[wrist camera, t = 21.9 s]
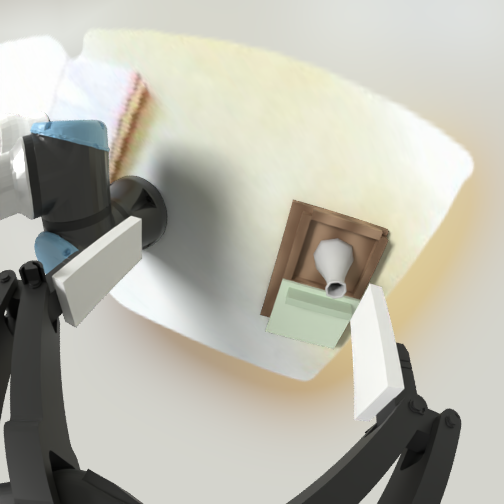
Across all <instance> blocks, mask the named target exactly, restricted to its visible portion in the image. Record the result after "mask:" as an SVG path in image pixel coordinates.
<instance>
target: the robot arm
mask: <svg viewBox="0 0 504 504" xmlns="http://www.w3.org/2000/svg"><path fill="white" fill-rule="evenodd" d="M30 132H31V134H29V135H26V136H22V137H19V139H18V140H17V142H16V143H15V145H14V146H13V148H12V149H11V150H10V151H9V152H6V153H3V154H0V220H2V219H4V218H7V217H9V216H12V215H15V214H17V213H20V214H23V215H24V216H26V217H28V218H29V219H35V218H38V217H42V222H43V227H44V232H41V233H40V234H39V235H38V237H37V238H36V241H35V253H36V256H37V259H38V261H29V262H27V263H25V264H23V265H22V266H21V267H20V269H19V273H20V276H21V279H22V280H17V277H16V274H15V272H14V271H12V270H5V271H2V272H1V273H0V419H1V414H2V408H3V402H4V399H5V394H6V390H7V386H8V382H9V378H10V374H11V381H10V411H11V412H10V413H11V417H10V421H7V422H5V425H4V442H5V450H6V459H7V465H8V472H9V478H10V482H7V483H1V484H0V504H143V503H142V502H140V501H139V500H137V499H136V498H135V497H134V496H132V495H131V494H130V493H128V492H127V491H125V490H123V489H121V488H120V487H119V486H117V485H116V484H114V483H112V482H110V481H109V480H107V479H105V478H103V477H101V476H100V475H98V474H96V473H94V472H93V471H91V470H89V469H88V470H87V471H83V470H80V467H79V464H78V460H77V458H76V455H75V453H74V451H73V450H72V447H71V444H70V440H69V434H68V429H67V423H66V416H65V410H64V401H63V393H62V382H61V368H60V367H61V366H60V321H59V316H60V315H61V314H62V313H63V316H64V319H65V321H66V322H67V323H69V324H71V325H72V326H74V327H77V326H78V325H79V324H80V323H81V322H82V321H83V319H84V318H85V317H86V316H87V315H88V314H89V313H90V312H91V311H92V310H93V309H94V307H95V306H96V305H97V304H98V303H99V302H100V301H101V300H102V299H103V298H104V297H105V296H106V295H107V294H108V293H109V292H110V290H111V289H112V288H113V287H114V286H115V285H116V284H117V283H118V282H119V281H120V280H121V279H122V278H123V277H124V276H125V275H126V274H127V273H128V272H129V271H130V270H131V269H132V268H133V267H134V266H135V265H136V264H137V263H138V262H139V261H140V260H141V259H142V250H143V249H146V248H148V247H150V246H152V245H153V244H154V243H156V242H157V241H158V240H159V239H160V238H161V236H162V235H163V233H164V231H165V228H166V224H167V212H166V207H165V204H164V201H163V199H162V197H161V195H160V194H159V192H158V191H157V190H156V188H155V187H154V186H153V185H152V184H151V183H149V182H148V181H146V180H145V179H143V178H140V177H137V176H125V177H122V178H120V179H118V180H116V181H114V182H112V183H111V184H110V180H109V152H110V149H109V148H108V138H107V128H106V125H105V124H104V123H103V122H102V121H100V120H69V121H51V122H38V123H33V124H32V127H31V129H30ZM45 273H46V275H45ZM5 310H6V311H7V314H6V315H5V316H4V313H5ZM350 324H351V337H352V352H353V371H354V372H353V373H354V420H361V421H370V420H371V419H373V418H374V417H375V416H376V418H377V423H376V424H375V425H373V426H372V427H371V428H370V429H368V430H367V431H366V432H365V433H366V434H365V435H364V436H363V437H362V438H361V439H360V440H359V441H358V442H357V443H356V444H355V445H354V446H353V447H352V448H351V449H350V450H349V451H348V453H346V454H345V455H344V456H343V457H342V458H341V459H340V460H339V461H338V462H337V463H336V464H335V465H334V466H332V467H331V468H330V469H329V470H328V471H327V472H326V473H325V474H324V475H322V476H321V477H320V478H319V479H318V480H316V481H315V482H314V483H313V484H311V485H310V486H309V487H308V488H306V490H304V491H303V492H301V493H300V494H299V495H297V496H296V497H295V498H294V499H292V500H291V501H289V502H288V503H286V504H359V502H360V501H361V500H362V499H363V498H364V497H365V496H366V495H367V494H368V493H369V492H370V491H371V489H372V488H373V487H374V486H375V485H376V484H377V483H378V482H379V480H380V479H381V478H382V477H383V476H384V474H385V473H386V472H387V471H388V470H389V468H390V467H391V466H392V464H393V463H394V462H395V461H396V459H397V458H398V457H399V455H400V454H401V455H400V458H399V460H398V462H397V465H396V467H395V469H394V471H393V473H392V476H391V478H390V480H389V482H388V484H387V486H386V488H385V490H384V492H383V494H382V496H381V497H380V499H379V501H378V503H377V504H440V502H441V499H442V497H443V494H444V491H445V488H446V485H447V482H448V479H449V476H450V472H451V469H452V465H453V461H454V457H455V453H456V449H457V445H458V440H459V435H460V430H461V419H460V416H459V415H458V413H457V412H456V411H454V410H452V409H446V410H445V411H443V412H442V413H441V414H439V413H437V412H434V411H432V410H430V409H428V407H427V404H426V402H425V400H424V399H423V398H422V397H421V396H419V395H418V394H417V391H416V386H415V381H414V376H413V371H412V367H411V363H410V357H409V353H408V351H407V349H406V348H405V346H404V345H403V344H400V343H396V342H395V337H394V332H393V328H392V324H391V320H390V316H389V312H388V308H387V304H386V300H385V296H384V293H383V289H382V287H380V286H377V285H373V284H369V286H368V288H367V290H366V292H365V294H364V296H363V298H362V299H361V301H360V303H359V305H358V307H357V309H356V311H355V312H354V314H353V316H352V318H351V320H350Z"/></svg>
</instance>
